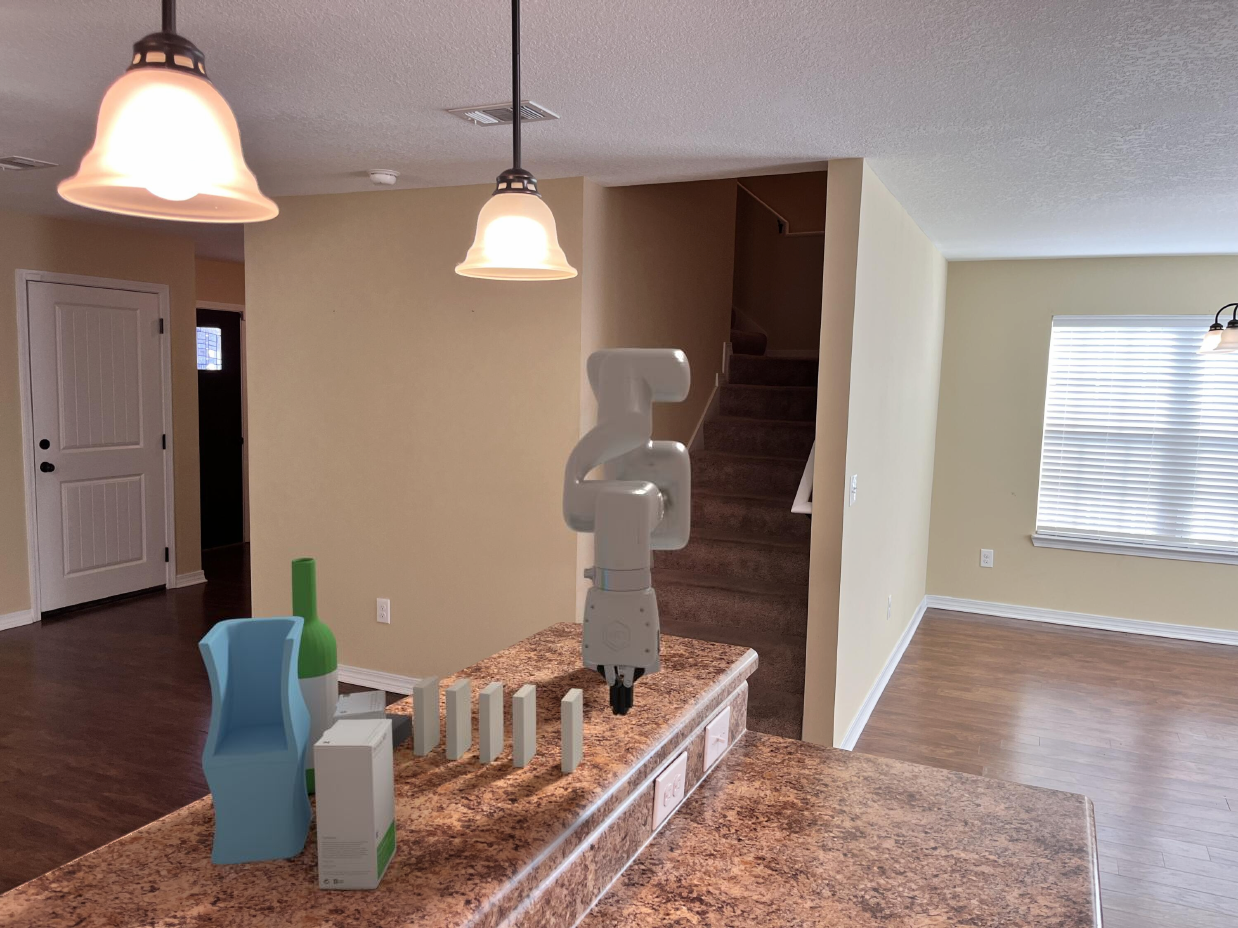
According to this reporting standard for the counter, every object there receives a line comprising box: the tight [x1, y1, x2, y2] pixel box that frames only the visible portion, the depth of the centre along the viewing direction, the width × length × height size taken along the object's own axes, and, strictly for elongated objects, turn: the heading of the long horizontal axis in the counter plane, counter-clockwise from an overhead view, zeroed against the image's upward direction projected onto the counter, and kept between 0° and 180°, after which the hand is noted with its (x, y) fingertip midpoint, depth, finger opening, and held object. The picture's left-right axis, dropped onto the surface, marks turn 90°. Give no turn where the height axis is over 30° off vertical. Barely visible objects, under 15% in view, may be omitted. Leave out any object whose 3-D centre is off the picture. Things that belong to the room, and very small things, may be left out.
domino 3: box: [478, 680, 504, 765], centre depth 124 cm, size 2×5×10 cm, turn 166°
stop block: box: [386, 712, 414, 752], centre depth 128 cm, size 8×4×3 cm, turn 166°
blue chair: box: [198, 615, 314, 866], centre depth 101 cm, size 10×10×25 cm
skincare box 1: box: [333, 689, 387, 725], centre depth 106 cm, size 8×6×15 cm
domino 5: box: [560, 687, 584, 774], centre depth 121 cm, size 2×5×10 cm, turn 166°
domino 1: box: [412, 675, 441, 757], centre depth 127 cm, size 2×5×10 cm, turn 166°
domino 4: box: [512, 683, 537, 769], centre depth 123 cm, size 2×5×10 cm, turn 166°
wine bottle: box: [290, 557, 339, 794], centre depth 115 cm, size 8×8×30 cm
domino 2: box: [445, 678, 472, 761], centre depth 125 cm, size 2×5×10 cm, turn 166°
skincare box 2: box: [314, 719, 397, 890], centre depth 95 cm, size 8×7×16 cm
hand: (621, 711), depth 119 cm, fingers closed
